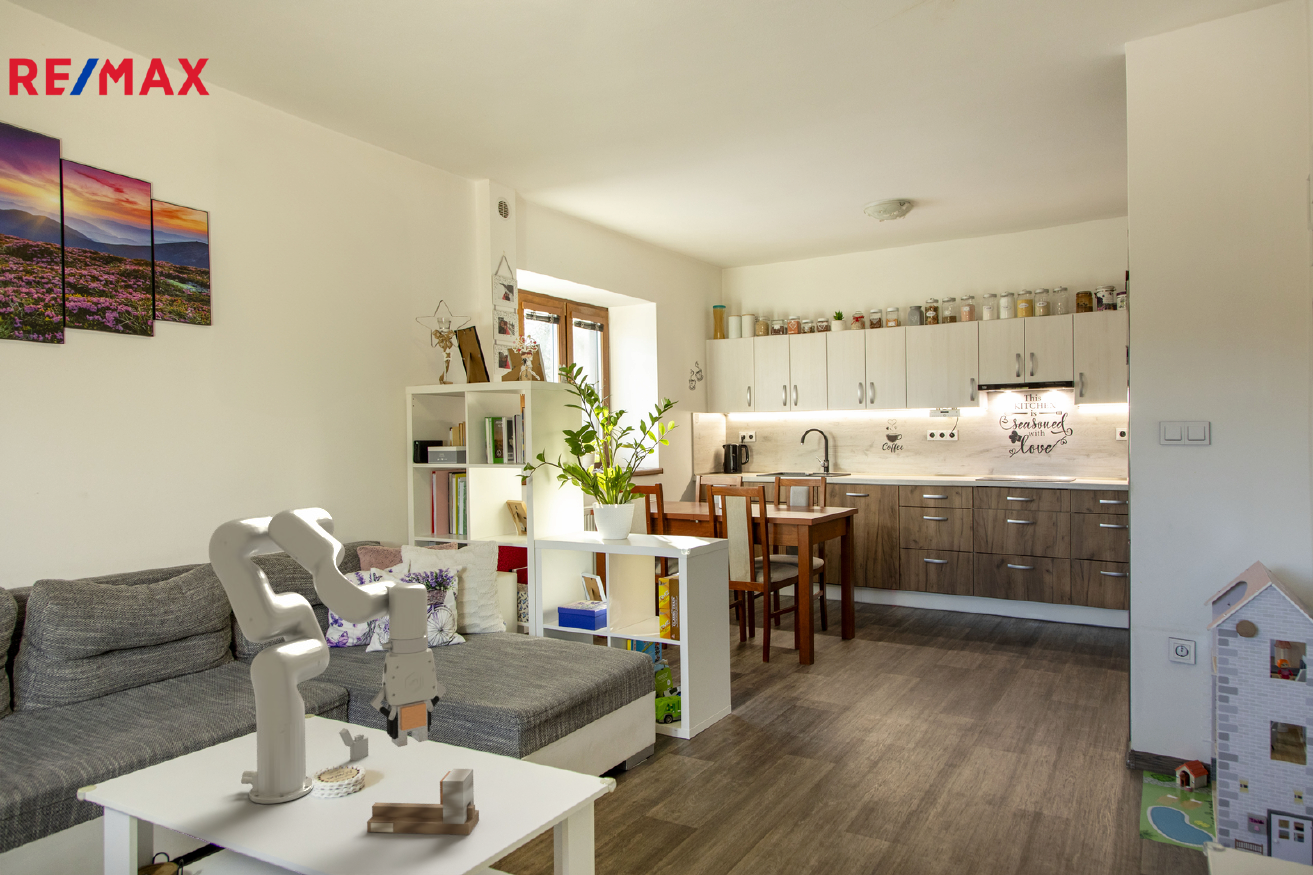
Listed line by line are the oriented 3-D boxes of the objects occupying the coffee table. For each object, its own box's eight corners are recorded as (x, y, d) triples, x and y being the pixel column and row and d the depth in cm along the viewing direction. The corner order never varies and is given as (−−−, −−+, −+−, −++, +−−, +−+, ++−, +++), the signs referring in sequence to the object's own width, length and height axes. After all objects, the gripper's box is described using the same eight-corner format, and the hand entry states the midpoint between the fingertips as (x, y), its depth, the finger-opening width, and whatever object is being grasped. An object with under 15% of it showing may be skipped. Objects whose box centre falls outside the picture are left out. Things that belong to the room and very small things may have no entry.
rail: (366, 832, 157) (366, 779, 157) (380, 818, 163) (380, 767, 163) (468, 835, 155) (467, 781, 155) (479, 820, 161) (478, 769, 161)
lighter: (363, 754, 198) (363, 720, 199) (368, 755, 198) (368, 721, 198) (339, 764, 192) (338, 729, 193) (344, 765, 192) (343, 730, 192)
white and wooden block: (391, 741, 167) (391, 702, 167) (420, 735, 171) (419, 696, 171) (399, 748, 163) (399, 707, 163) (428, 741, 167) (428, 701, 167)
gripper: (372, 655, 159) (372, 748, 159) (456, 641, 170) (457, 729, 170) (359, 648, 165) (360, 738, 165) (441, 635, 176) (442, 720, 175)
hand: (409, 732), depth 167 cm, fingers closed on white and wooden block, 6 cm apart
